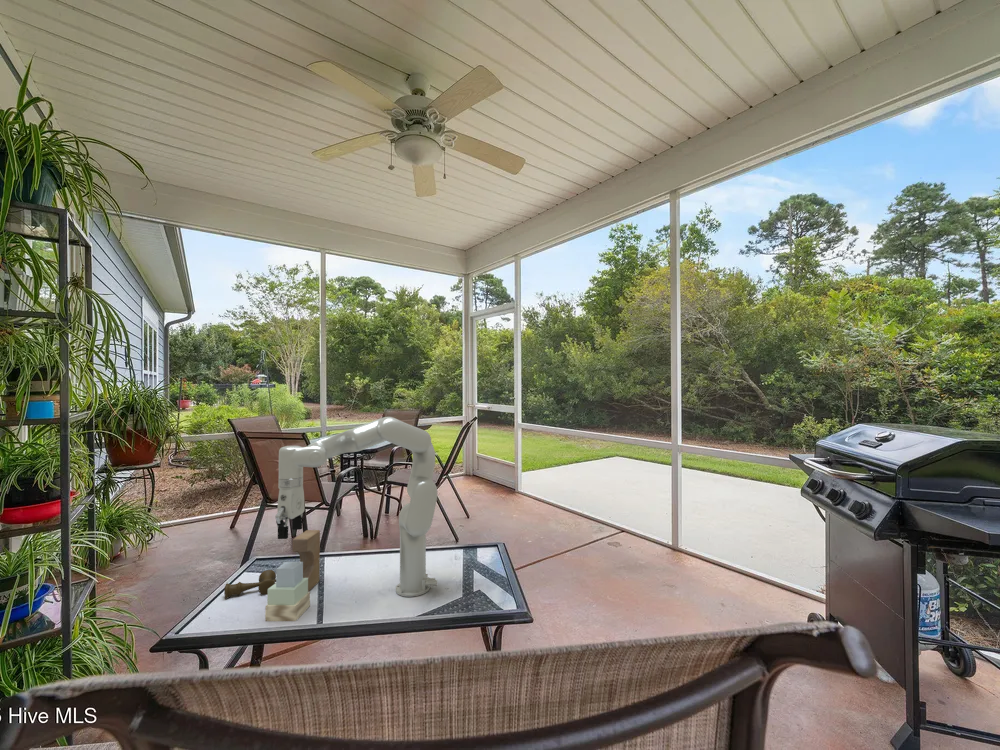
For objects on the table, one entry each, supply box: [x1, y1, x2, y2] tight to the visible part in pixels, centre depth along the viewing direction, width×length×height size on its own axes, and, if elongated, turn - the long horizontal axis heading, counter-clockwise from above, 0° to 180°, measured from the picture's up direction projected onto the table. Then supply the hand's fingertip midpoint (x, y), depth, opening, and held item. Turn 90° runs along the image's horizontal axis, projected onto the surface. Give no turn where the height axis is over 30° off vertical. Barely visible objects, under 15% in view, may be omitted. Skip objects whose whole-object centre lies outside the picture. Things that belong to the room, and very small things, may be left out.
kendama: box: [223, 569, 276, 599], centre depth 160 cm, size 6×10×20 cm
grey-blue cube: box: [275, 561, 303, 587], centre depth 145 cm, size 6×6×6 cm
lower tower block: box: [264, 591, 311, 622], centre depth 144 cm, size 10×10×5 cm
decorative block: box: [292, 529, 321, 592], centre depth 164 cm, size 11×6×20 cm, turn 177°
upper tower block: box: [266, 578, 308, 605], centre depth 145 cm, size 9×9×5 cm
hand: (290, 533), depth 145 cm, fingers open, 9 cm apart
